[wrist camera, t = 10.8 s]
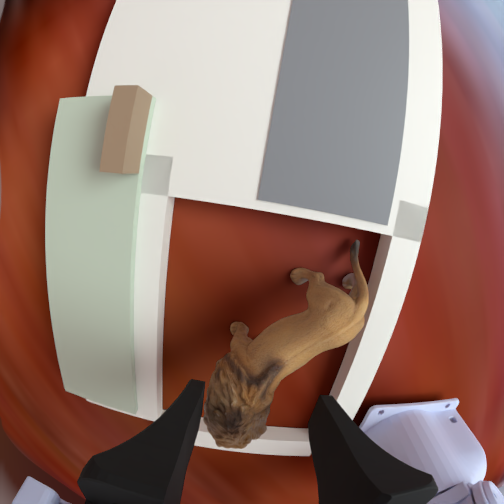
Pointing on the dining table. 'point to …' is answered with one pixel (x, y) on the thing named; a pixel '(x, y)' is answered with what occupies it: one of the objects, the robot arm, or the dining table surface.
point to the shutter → (96, 240)
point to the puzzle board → (281, 145)
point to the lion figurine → (280, 354)
